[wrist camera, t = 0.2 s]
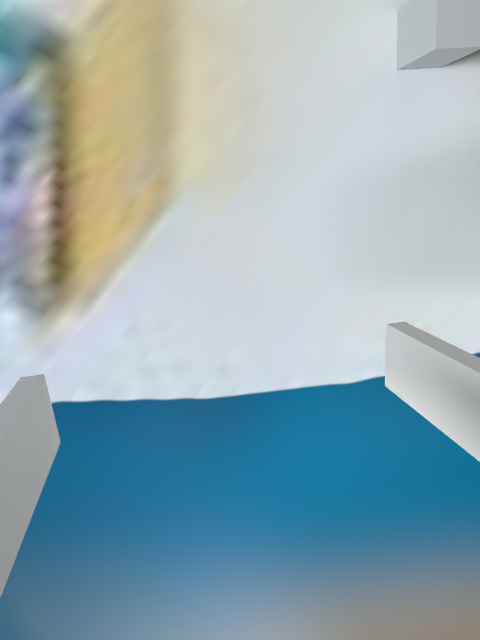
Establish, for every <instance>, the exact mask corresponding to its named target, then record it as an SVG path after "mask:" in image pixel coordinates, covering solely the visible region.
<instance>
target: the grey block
mask: <svg viewBox="0 0 480 640" xmlns="http://www.w3.org/2000/svg"><path fill="white" fill-rule="evenodd" d="M478 50H480V0H411V1H410V2H409V3H407V4H406V5H405V6H404V7H402V8H401V9H400V10H398V20H397V70H405V69H421V68H438V67H443V66H445V65H448V64H450V63H452V62H454V61H456V60H458V59H460V58H463V57H465V56H467V55H469V54H471V53H473V52H475V51H478Z"/></svg>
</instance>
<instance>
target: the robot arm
mask: <svg viewBox="0 0 480 640" xmlns="http://www.w3.org/2000/svg"><path fill="white" fill-rule="evenodd" d="M385 386H386V387H387V388H388V389H390V390H391V391H392V392H394V393H395V394H396V395H397V396H398V397H400V398H401V399H402V400H404V401H405V402H406V403H407V404H408V405H410V406H411V407H412V408H414V409H415V410H416V411H417V412H418V413H420V414H421V415H422V416H423V417H425V418H426V419H427V420H428V421H430V422H431V423H432V424H433V425H435V426H436V427H437V428H438V429H440V430H441V431H442V432H443V433H445V434H446V435H447V436H449V437H450V438H451V439H452V440H453V441H455V442H456V443H457V444H458V445H460V446H461V447H462V448H464V449H465V450H466V451H467V452H468V453H470V454H471V455H472V456H474V457H475V458H476V459H477V460H478V461H480V358H478V357H476V356H474V355H472V354H470V353H468V352H466V351H464V350H462V349H460V348H458V347H455V346H453V345H451V344H449V343H447V342H445V341H443V340H441V339H439V338H437V337H435V336H433V335H431V334H429V333H427V332H424V331H422V330H420V329H418V328H416V327H414V326H412V325H410V324H408V323H406V322H399V323H392V324H387V339H386V371H385ZM59 445H60V438H59V434H58V430H57V426H56V422H55V417H54V414H53V409H52V405H51V401H50V397H49V393H48V388H47V384H46V380H45V376H44V374H43V375H36V376H29V377H22V378H20V379H19V381H18V382H17V383H16V385H15V386H14V387H13V389H12V390H11V391H10V393H9V394H8V395H7V397H6V398H5V399H4V401H3V402H2V403H1V405H0V597H1V594H2V592H3V589H4V586H5V584H6V581H7V579H8V576H9V573H10V571H11V568H12V566H13V563H14V561H15V558H16V556H17V553H18V550H19V548H20V545H21V543H22V540H23V537H24V535H25V532H26V530H27V527H28V525H29V522H30V520H31V517H32V514H33V512H34V509H35V506H36V504H37V501H38V499H39V496H40V494H41V491H42V488H43V486H44V483H45V481H46V478H47V476H48V473H49V470H50V468H51V465H52V462H53V460H54V458H55V455H56V452H57V449H58V447H59Z"/></svg>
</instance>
